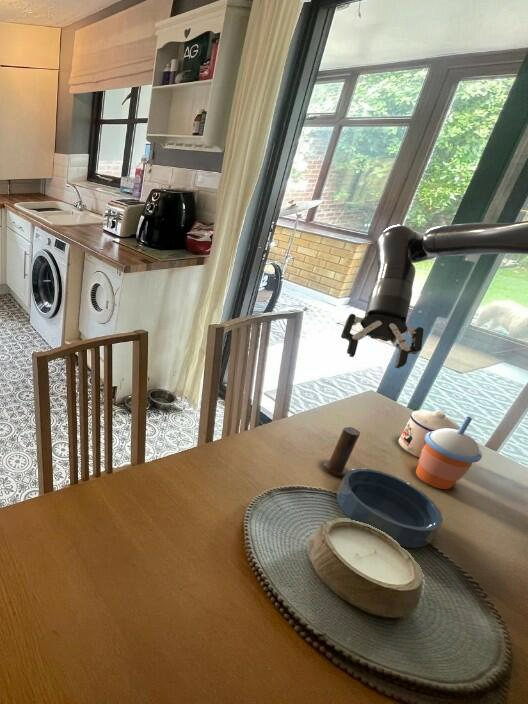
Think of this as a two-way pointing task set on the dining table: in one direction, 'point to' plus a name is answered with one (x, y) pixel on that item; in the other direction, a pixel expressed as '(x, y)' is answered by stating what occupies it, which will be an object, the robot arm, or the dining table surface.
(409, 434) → the teacup with lid
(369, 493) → the bowl
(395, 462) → the dining table surface
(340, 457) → the brown wooden cylinder
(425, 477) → the cup with straw
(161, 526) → the dining table surface
